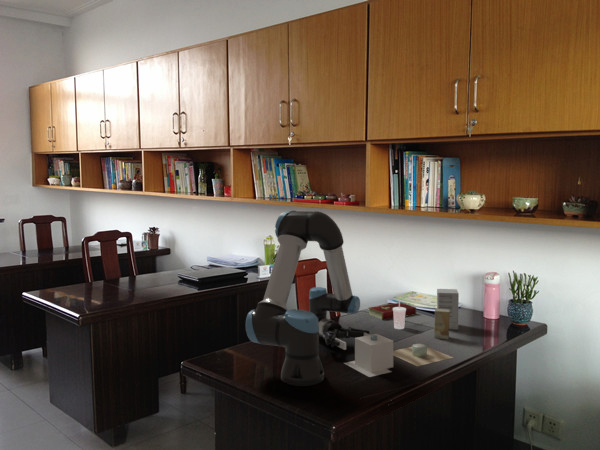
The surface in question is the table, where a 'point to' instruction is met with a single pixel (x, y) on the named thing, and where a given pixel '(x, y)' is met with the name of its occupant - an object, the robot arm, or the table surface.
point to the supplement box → (449, 305)
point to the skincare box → (441, 324)
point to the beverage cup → (399, 317)
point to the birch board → (418, 361)
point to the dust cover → (373, 352)
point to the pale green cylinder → (419, 350)
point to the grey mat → (365, 372)
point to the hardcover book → (390, 310)
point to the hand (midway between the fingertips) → (360, 343)
